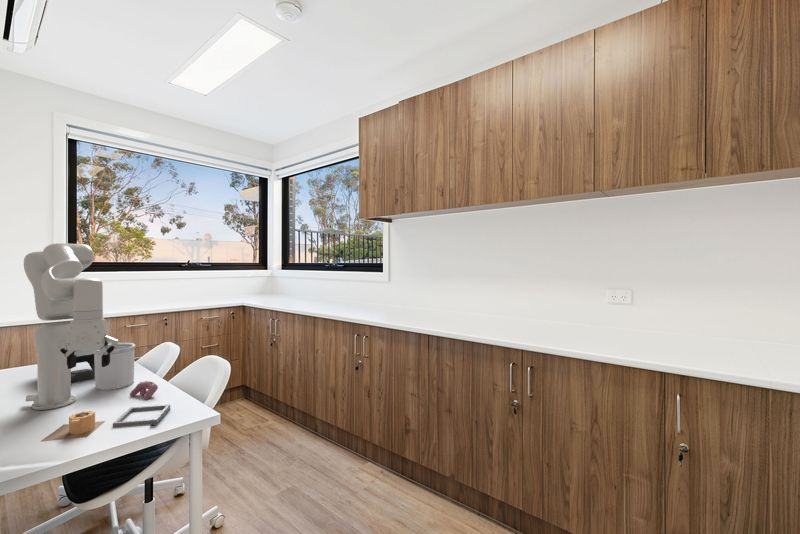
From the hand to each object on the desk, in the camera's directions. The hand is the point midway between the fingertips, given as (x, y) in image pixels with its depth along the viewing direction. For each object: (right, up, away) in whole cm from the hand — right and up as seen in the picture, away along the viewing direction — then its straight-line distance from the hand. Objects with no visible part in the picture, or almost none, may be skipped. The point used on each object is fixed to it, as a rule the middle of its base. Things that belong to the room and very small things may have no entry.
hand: (88, 366), depth 124 cm
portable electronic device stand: (-50, -19, +57) cm, 78 cm away
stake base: (-2, -21, -3) cm, 21 cm away
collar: (0, -20, -2) cm, 20 cm away
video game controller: (-2, -21, +30) cm, 36 cm away
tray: (+12, -21, +8) cm, 26 cm away
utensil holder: (-24, -20, +43) cm, 53 cm away
